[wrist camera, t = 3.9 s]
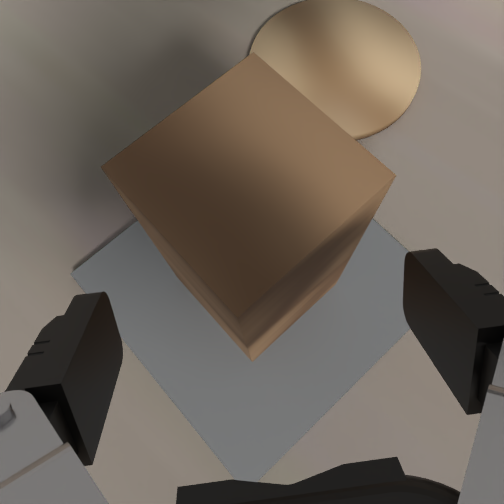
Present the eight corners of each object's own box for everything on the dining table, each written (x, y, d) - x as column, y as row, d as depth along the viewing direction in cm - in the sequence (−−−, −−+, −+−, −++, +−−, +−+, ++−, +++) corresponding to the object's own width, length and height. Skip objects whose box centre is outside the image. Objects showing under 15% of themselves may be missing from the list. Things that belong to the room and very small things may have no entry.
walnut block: (258, 207, 21) (251, 50, 12) (335, 284, 20) (396, 175, 11) (176, 276, 21) (98, 165, 11) (252, 362, 19) (237, 318, 10)
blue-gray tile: (264, 124, 23) (264, 119, 23) (446, 291, 20) (449, 288, 20) (73, 276, 21) (70, 273, 21) (246, 491, 18) (245, 493, 18)
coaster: (331, -21, 26) (333, -28, 26) (453, 71, 24) (457, 64, 24) (214, 67, 25) (213, 60, 24) (333, 174, 22) (335, 169, 22)
